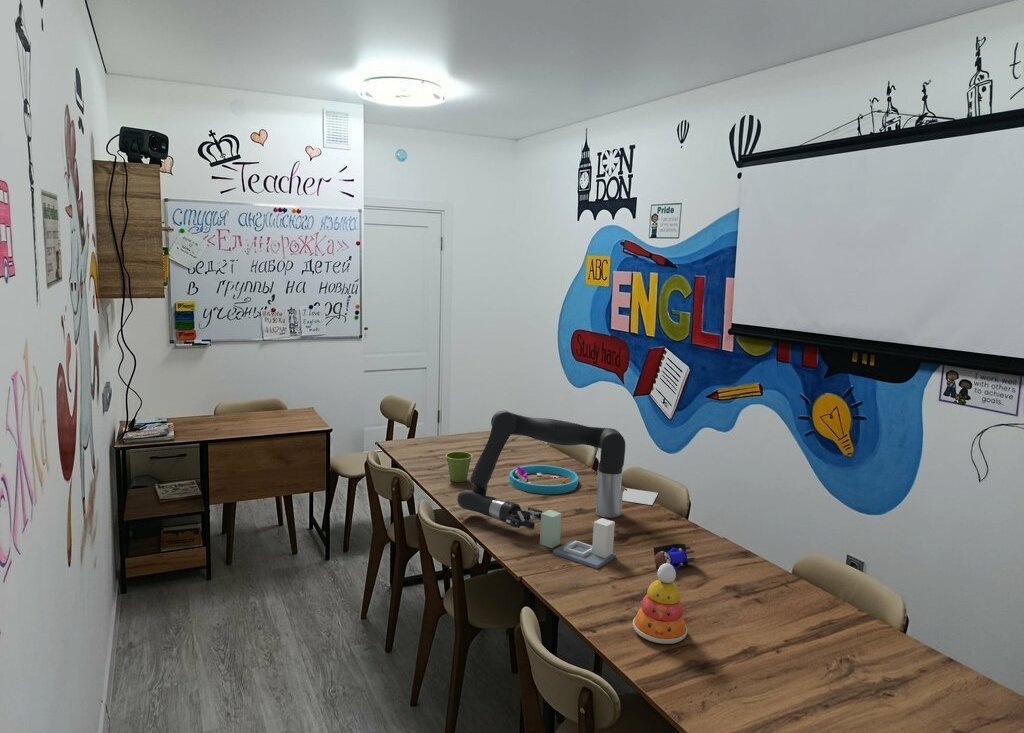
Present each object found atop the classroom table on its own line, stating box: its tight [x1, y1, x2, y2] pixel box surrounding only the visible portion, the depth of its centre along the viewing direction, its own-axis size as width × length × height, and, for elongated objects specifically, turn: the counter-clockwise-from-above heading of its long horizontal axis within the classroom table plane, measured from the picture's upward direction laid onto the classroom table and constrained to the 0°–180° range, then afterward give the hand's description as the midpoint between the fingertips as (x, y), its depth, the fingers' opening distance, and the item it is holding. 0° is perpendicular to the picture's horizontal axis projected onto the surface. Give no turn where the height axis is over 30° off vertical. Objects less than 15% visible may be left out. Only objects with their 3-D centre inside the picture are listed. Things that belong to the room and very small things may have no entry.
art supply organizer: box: [509, 464, 579, 495], centre depth 308 cm, size 30×30×6 cm
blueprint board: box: [552, 539, 617, 570], centre depth 233 cm, size 12×17×2 cm
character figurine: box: [653, 543, 696, 571], centre depth 227 cm, size 8×7×15 cm
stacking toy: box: [632, 563, 688, 645], centre depth 185 cm, size 14×14×20 cm
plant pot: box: [445, 451, 473, 483], centre depth 306 cm, size 12×12×11 cm
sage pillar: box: [539, 509, 563, 549], centre depth 241 cm, size 5×5×11 cm
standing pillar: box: [592, 517, 616, 558], centre depth 232 cm, size 5×5×11 cm
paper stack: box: [622, 487, 659, 506], centre depth 300 cm, size 23×25×1 cm
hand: (541, 522), depth 243 cm, fingers open, 8 cm apart
